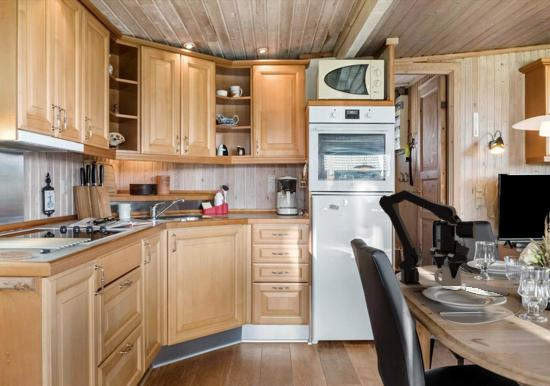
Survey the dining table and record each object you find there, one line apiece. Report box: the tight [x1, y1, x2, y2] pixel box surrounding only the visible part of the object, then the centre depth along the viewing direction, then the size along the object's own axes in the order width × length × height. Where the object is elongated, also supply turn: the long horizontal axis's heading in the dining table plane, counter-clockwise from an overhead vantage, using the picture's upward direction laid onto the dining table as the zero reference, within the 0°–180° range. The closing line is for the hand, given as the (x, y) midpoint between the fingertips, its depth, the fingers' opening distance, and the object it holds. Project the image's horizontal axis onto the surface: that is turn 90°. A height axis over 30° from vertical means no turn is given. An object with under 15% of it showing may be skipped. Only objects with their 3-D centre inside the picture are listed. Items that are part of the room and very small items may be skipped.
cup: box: [433, 264, 462, 287], centre depth 166 cm, size 7×10×9 cm
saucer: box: [465, 284, 509, 297], centre depth 160 cm, size 15×15×1 cm
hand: (447, 275), depth 166 cm, fingers open, 9 cm apart
